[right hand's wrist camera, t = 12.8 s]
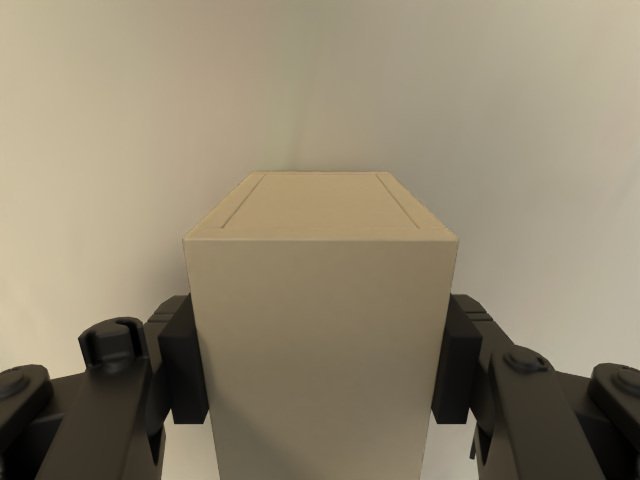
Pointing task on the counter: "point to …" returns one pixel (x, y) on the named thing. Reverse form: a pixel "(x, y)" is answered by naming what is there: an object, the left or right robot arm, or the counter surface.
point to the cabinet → (320, 324)
